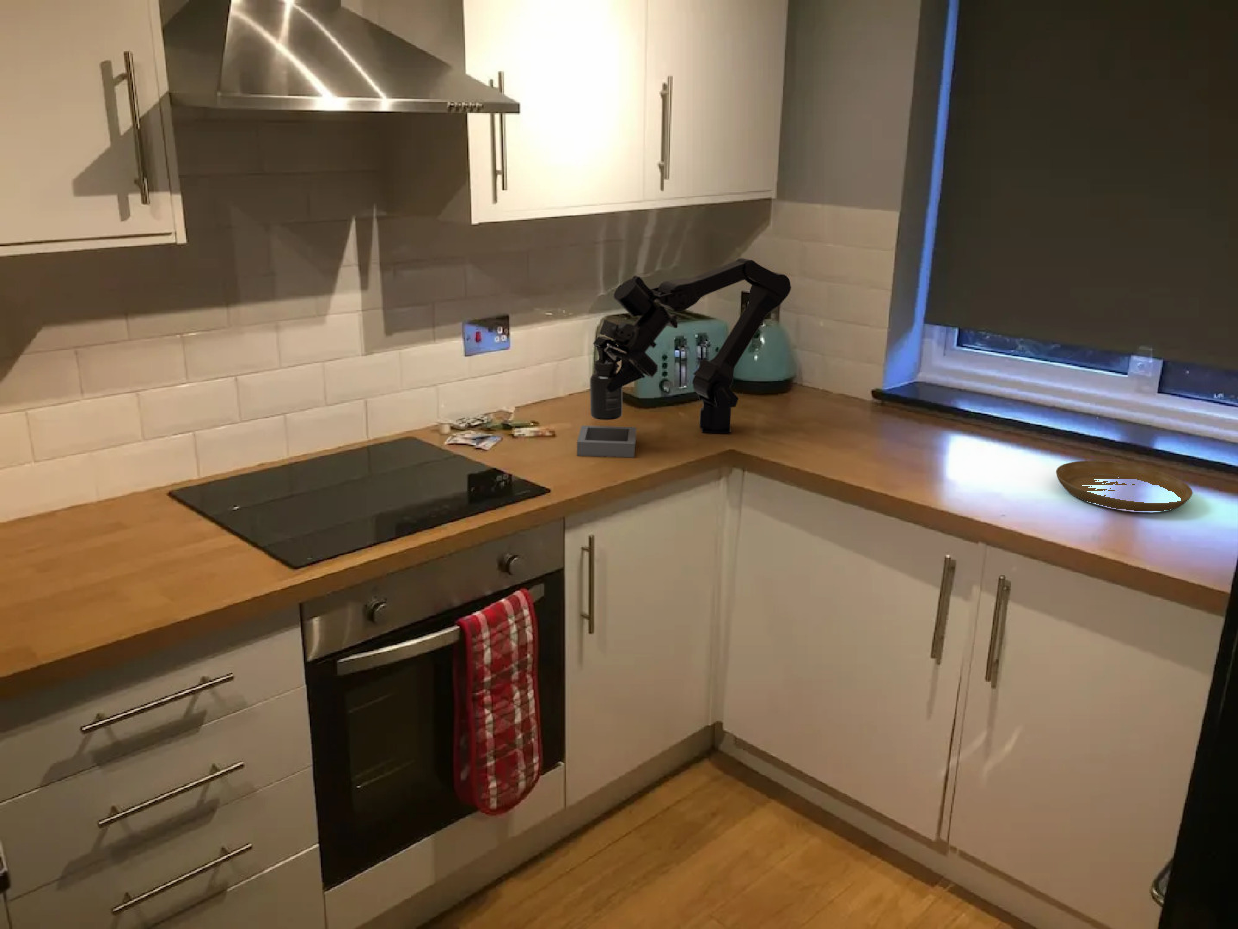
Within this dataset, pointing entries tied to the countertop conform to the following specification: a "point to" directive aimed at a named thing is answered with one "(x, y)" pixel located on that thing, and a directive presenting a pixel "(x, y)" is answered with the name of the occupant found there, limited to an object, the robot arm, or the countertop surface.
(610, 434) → the holder
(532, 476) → the countertop surface
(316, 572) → the countertop surface
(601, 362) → the supplement bottle
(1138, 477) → the plant saucer
